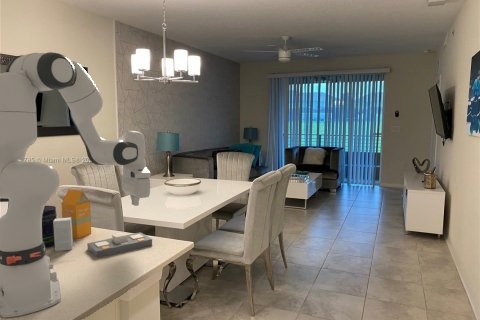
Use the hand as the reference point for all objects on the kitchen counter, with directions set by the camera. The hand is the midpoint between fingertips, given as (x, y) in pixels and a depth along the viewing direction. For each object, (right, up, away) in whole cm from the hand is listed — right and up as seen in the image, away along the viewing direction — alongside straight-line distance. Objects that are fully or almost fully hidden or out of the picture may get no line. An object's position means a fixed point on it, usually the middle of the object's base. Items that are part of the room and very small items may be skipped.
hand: (135, 205), depth 147 cm
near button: (-11, -17, -7) cm, 21 cm away
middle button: (-5, -14, -2) cm, 15 cm away
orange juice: (-29, -15, +12) cm, 35 cm away
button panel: (-5, -16, -3) cm, 17 cm away
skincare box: (-27, -17, -4) cm, 32 cm away
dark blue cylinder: (-37, -16, 0) cm, 40 cm away
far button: (0, -16, +2) cm, 16 cm away
